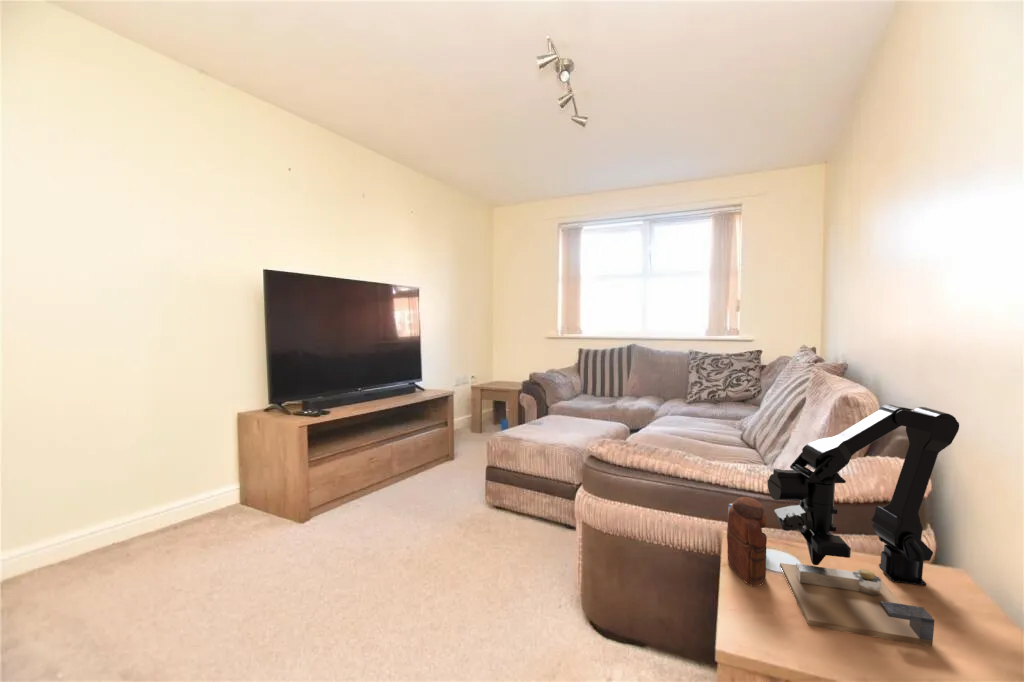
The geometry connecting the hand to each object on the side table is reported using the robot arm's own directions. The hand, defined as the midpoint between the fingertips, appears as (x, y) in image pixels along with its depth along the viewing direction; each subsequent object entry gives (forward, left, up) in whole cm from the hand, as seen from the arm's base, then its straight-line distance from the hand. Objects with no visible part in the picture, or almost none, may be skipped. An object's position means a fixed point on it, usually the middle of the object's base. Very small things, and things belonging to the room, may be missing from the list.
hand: (814, 564), depth 105 cm
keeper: (-10, +17, -3) cm, 20 cm away
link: (-3, +5, -1) cm, 6 cm away
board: (-3, +9, -2) cm, 10 cm away
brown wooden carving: (+15, +3, -3) cm, 15 cm away
